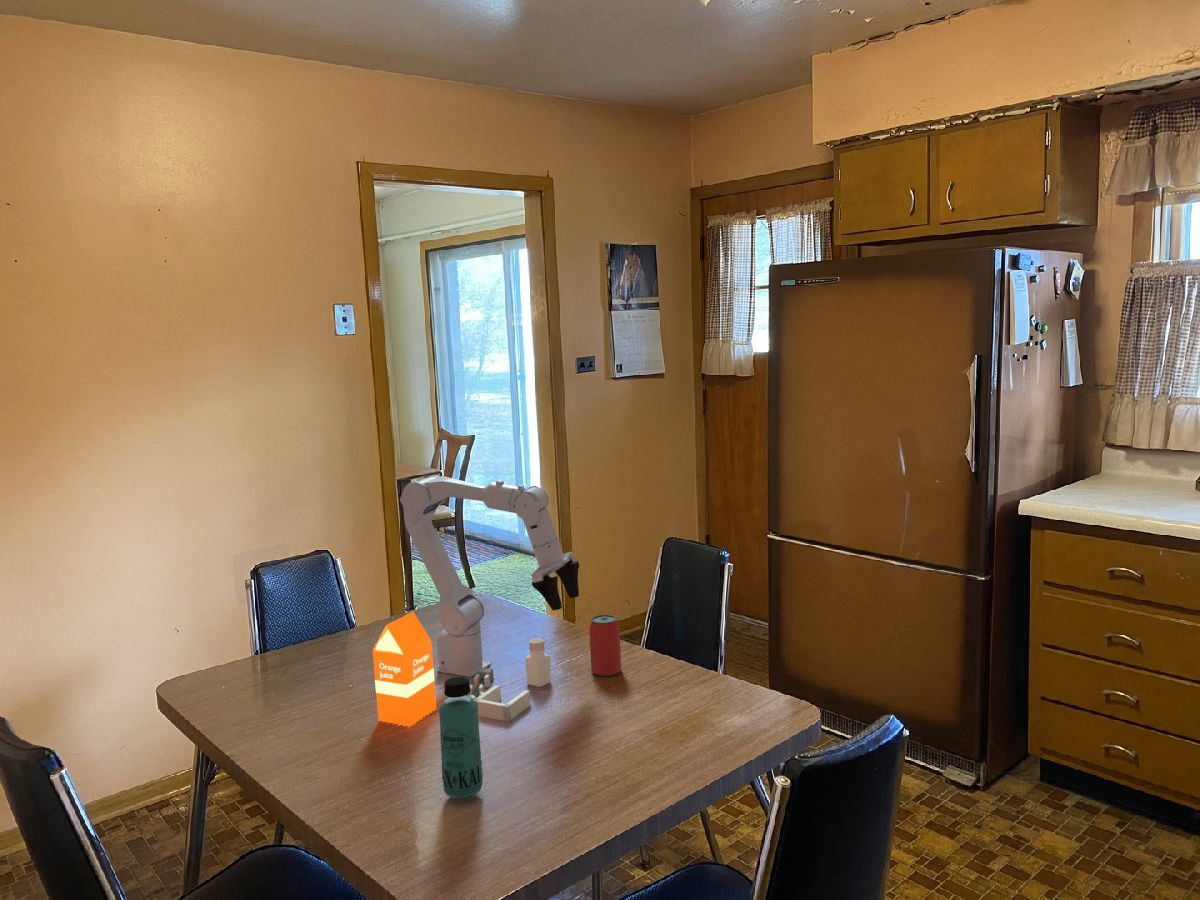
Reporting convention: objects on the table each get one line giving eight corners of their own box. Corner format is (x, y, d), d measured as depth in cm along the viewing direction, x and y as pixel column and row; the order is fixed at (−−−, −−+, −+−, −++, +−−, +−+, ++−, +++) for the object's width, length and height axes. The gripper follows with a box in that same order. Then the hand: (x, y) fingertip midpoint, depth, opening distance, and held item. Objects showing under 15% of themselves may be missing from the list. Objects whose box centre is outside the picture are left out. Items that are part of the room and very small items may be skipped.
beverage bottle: (445, 788, 145) (436, 673, 142) (485, 785, 145) (478, 670, 142) (441, 809, 138) (432, 689, 135) (483, 806, 139) (475, 686, 136)
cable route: (469, 709, 174) (468, 698, 174) (479, 678, 190) (479, 668, 190) (484, 709, 174) (483, 697, 174) (493, 678, 190) (493, 667, 190)
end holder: (474, 714, 172) (473, 700, 172) (497, 698, 179) (496, 685, 179) (508, 721, 168) (507, 706, 168) (530, 705, 175) (529, 690, 175)
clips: (465, 709, 175) (464, 699, 174) (471, 684, 187) (470, 674, 187) (487, 708, 175) (486, 697, 175) (491, 682, 188) (490, 672, 187)
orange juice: (437, 708, 176) (429, 613, 173) (410, 727, 168) (402, 627, 165) (405, 703, 179) (397, 609, 176) (377, 721, 171) (369, 623, 168)
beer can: (622, 665, 194) (620, 613, 192) (620, 677, 187) (617, 623, 186) (592, 665, 194) (590, 613, 193) (589, 677, 188) (587, 623, 186)
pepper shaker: (538, 678, 189) (536, 636, 188) (552, 682, 186) (550, 639, 185) (525, 684, 186) (523, 641, 184) (539, 688, 183) (537, 645, 182)
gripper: (542, 548, 177) (564, 611, 178) (576, 529, 190) (597, 588, 190) (515, 556, 181) (537, 617, 181) (550, 536, 193) (570, 594, 194)
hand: (566, 603), depth 186 cm, fingers open, 7 cm apart
